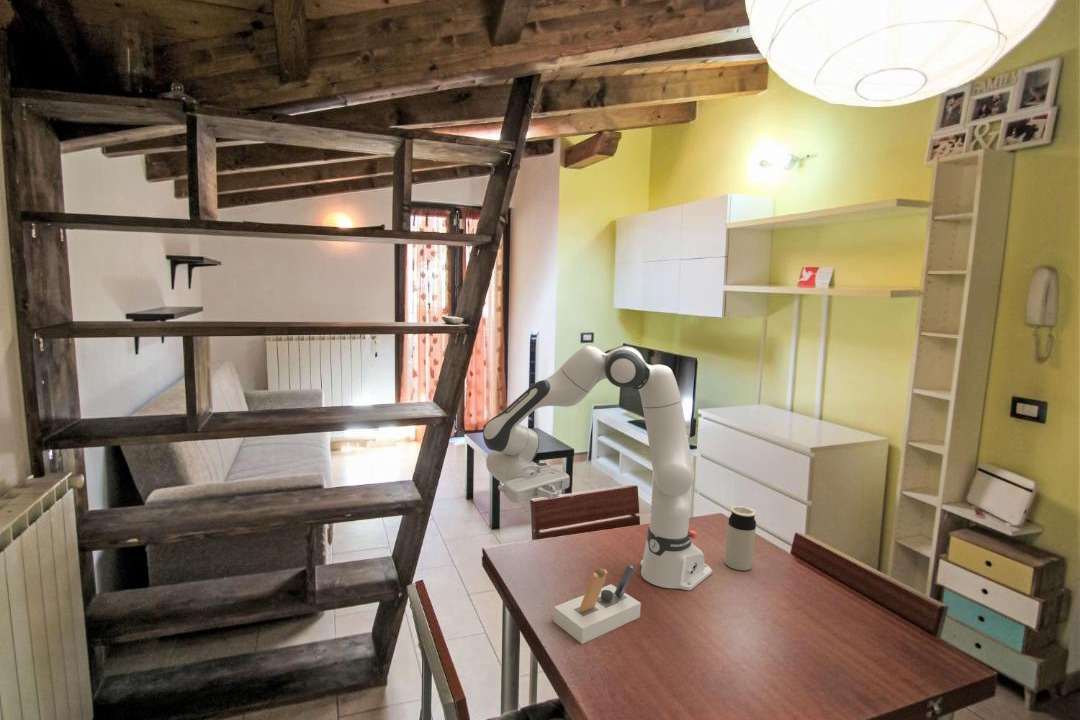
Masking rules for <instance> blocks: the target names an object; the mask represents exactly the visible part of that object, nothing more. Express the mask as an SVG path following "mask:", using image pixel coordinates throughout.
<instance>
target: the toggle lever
mask: <svg viewBox="0 0 1080 720" xmlns="http://www.w3.org/2000/svg"><path fill="white" fill-rule="evenodd" d="M635 572H636V568H635V566H634V565H633V564H627V565H626V566H625V569H624V571H623V574H622V575H621V578H620V580H619V582H618V584H617V586H616V588H617V589H616V591H615V594H616V596H617V597H618V598H619V597H622V596H623V594H624V593H626V590H627V588H628V585H629V584H630V581H631V579H632V577H633V575H634V573H635Z"/></svg>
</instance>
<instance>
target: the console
mask: <svg viewBox="0 0 1080 720" xmlns="http://www.w3.org/2000/svg"><path fill="white" fill-rule="evenodd" d="M616 589H617V586H615V585H613V584H611V583H610V584H608V585H605V586H602V589H601V592H602V591H603V590H609V591H611V592H612V593H613V599H612V600H611V601H604V600H602V599H601V592H600V594H599V597H598V599H597V602H596V604H595V607H594V608H592V609H589V610H587V611H585V612H582V611H581V610H580V606H581V604H582V601H583V598H584V596H585V594H584V595H580V596H578V597H575V598H572V599H569V600H568V601H565V602H562V603H560V604H557V605H555V606H553V622H554V623H555V624H556V625H557V626H559V627H560V628H561V629H563V630H564V631H565V632H566V633H567V634H569V635H570V636H571V637H573V639H575V640H577V642H578V643H580V644H581V645H583V644H585V643H588V642H590V641H592V640H593V639H596V638H598V637H601V636H602V635H605V634H606V633H609V632H611V631H613V630H615V629H618V628H620V627H622V626H625V625H626V624H628V623H630V622H633V621H635V620H637V619H639V618H641V607H642V606H641V605H642V602H640V601H638V600H637V599H636V598H634V597H633V596H631V595H629V594H628V593H626V592H624V594H623V596H622V597H619V598H618V597H617V596H616V594H615V591H616Z"/></svg>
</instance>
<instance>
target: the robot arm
mask: <svg viewBox="0 0 1080 720" xmlns="http://www.w3.org/2000/svg"><path fill="white" fill-rule="evenodd" d="M606 379H607V380H608V381H609V382H610V383H611V384H612V385H613V386H615V387H617V388H621V389H629V390H637V391H638V392H639V395H640V400H641V406H642V412H643V417H644V421H645V423H644V424H645V428H646V433H647V441H648V447H649V448H648V449H649V453H650V460H651V465H652V473H653V475H652V486H651V487H652V488H651V504H650V518H649V520H650V521H649V526H648V529H647V533H646V534H647V536H646V537H647V538H646V539H647V540H646V541H645V545H644V546H645V547H644V553H643V557H642V559H641V560H640V567H641V569H640V575H641V577H642V578H643V579H644V580H645V581H646V582H648V583H650V584H652V585H654V586H656V587H660V588H664V589H665V588H666V589H677V590H678V589H680V590H685V591H691V590H693V589H694V588H696V587H697V586H698V585H699V584H701V583H702V582H703V581H704V580H706V579H707V578H708V577H709V576H710V575H712V574H713V569H712V568H711V567H710V566H709V565H708V564H706V563H705V555H704V552H703V551H702V550H701V549H700V548H699V547H697V546H696V545H695V544H694V543H693V542H692V541H691V540H692V539H693V540H695V539H697V537H698V533H697V531H693V530H692V529H691V530H689V526H690V525H689V522H690V512H691V511H690V510H691V487H692V485H693V483H694V479H695V470H694V464H693V460H692V452H691V449H690V448H691V447H690V442H689V437H688V432H687V425H686V420H685V413H684V409H683V402H682V398H681V393H680V389H679V386H678V382H677V380H676V377H675V375H674V372H673V369H671V368H670V367H669V366H667V365H664V364H648V363H647V362H646V361H645V358H644V356H643V353H642V352H641V351H640V350H639V349H637V348H636V346H635V347H634V346H632V345H620V346H617V347H614V348H612V349H609V350H606V351H605V352H603V351H602V350H601V349H599V348H598V347H596V346H594V345H584V346H582V347H581V348H580V349H578V350H577V351H576V352H575V353H574V354H573V355H571V356H570V357H569V358H568V359H567V360H566V361H565V362H564V363H563V364H562V365H561V366H560V367H559V369H558V370H557V371H555V373H553V374H552V375H550V376H549V377H547V378H545V379H543V380H538V381H536V382H535V383H534V384H532V385H531V386H530V387H528V389H526V390H525V391H524V392H523V393H521V394H520V395H519V396H518V398H516V399H515V400H514V401H513V402H512V403H510V404H509V405H508V406H507V407H506V408H505V409H503V411H501V412H500V413H499V414H497V415H495V416H493V417H492V418H491V419H489V420H488V421H487V423H485V425H484V427H483V429H482V430H483V432H482V438H483V442H484V444H485V447H486V448H488V450H491V451H490V452H489V453H488V454H487V456H486V459H485V464H486V465H485V466H486V469H487V471H488V472H489V474H491V476H492V477H493V478H494V479H496V480H498V481H499V482H500V483H499V485H498V486H497V489H498V490H499V491H501V492H502V493H503V495H504V496H505V497H506V498H507V499H508V500H509V501H510V502H512V503H520V502H524V501H528V500H531V499H534V498H537V497H539V498H545V499H547V500H553V499H556V498H559V497H560V492H559V491H561V490H564V489H568V488H570V480H571V479H570V475H569V474H568V473H567V472H565V471H563V470H561V469H559V468H557V467H554V466H551V464H550V463H548V462H533V460H534V459H535V458H536V456H537V453H538V451H539V448H540V439H539V435H538V433H537V431H535V430H533V429H531V428H529V427H527V426H524V425H522V424H521V423H522V422H523V421H524V420H525V419H526V418H527V417H528V416H530V414H532V413H533V412H534V411H536V410H537V409H539V408H543V407H544V408H545V407H563V408H566V407H567V408H568V407H573V406H575V405H578V404H579V403H580V402H581V401H583V400H584V399H585V398H586V397H587V396H588V394H589V393H590V392H591V391H592V389H593V388H594V387H595V386H596V385H597V384H598V383H599V382H601V381H603V380H606ZM691 538H692V539H691Z"/></svg>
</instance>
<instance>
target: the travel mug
mask: <svg viewBox="0 0 1080 720" xmlns="http://www.w3.org/2000/svg"><path fill="white" fill-rule="evenodd" d="M730 511H731V514H730V516H729V517H728V525H727V535H726V545H725V546H726V547H725V559H724V563H725V565H726V566H728V567H729V568H731V569H733V570H736V571H741V572H742V571H749V570H751V569H752V567H753V557H754V550H755V549H754V547H755V540H756V539H755V538H756V537H755V536H756V528H757V521H756V518H755V517H756V514H757V512H756V510H755V509H754V508H751V507H749V506H744V505H734V506H731V507H730Z"/></svg>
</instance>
